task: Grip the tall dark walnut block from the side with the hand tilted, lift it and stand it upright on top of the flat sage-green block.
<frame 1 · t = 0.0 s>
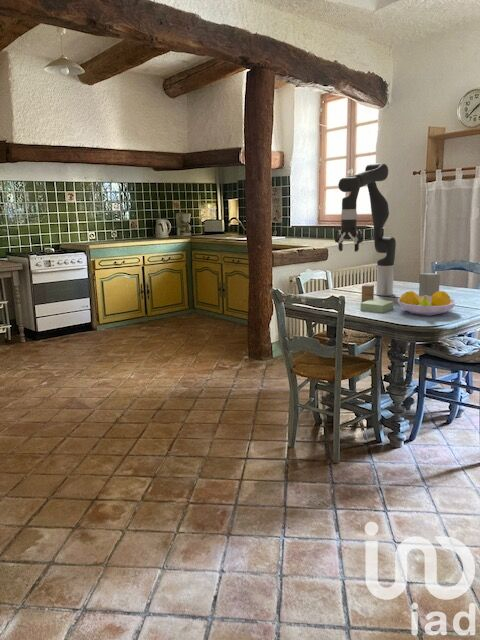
hand: (348, 251, 259), 29 cm above the table, tool pointing down, fingers open, 8 cm apart
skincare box: (428, 303, 271), on the table
fruit bowl: (424, 313, 249), on the table
sage platform block: (376, 309, 260), on the table
walnut block: (367, 303, 274), on the table
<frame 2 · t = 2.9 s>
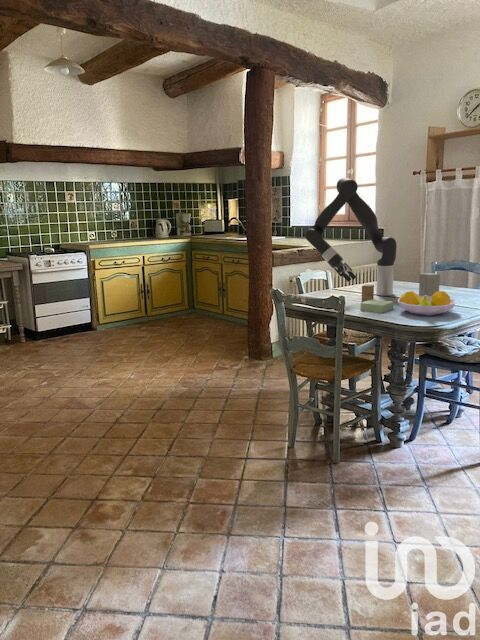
hand: (352, 279, 275), 13 cm above the table, tool tilted 45°, fingers open, 8 cm apart
nothing on the table moved.
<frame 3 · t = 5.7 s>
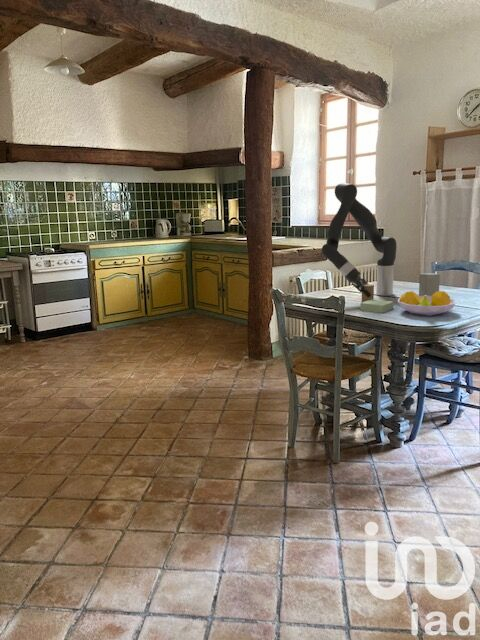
hand: (371, 295, 272), 5 cm above the table, tool tilted 45°, fingers closed on walnut block, 5 cm apart
walnut block: (367, 303, 274), on the table, touching gripper
everything else where it was.
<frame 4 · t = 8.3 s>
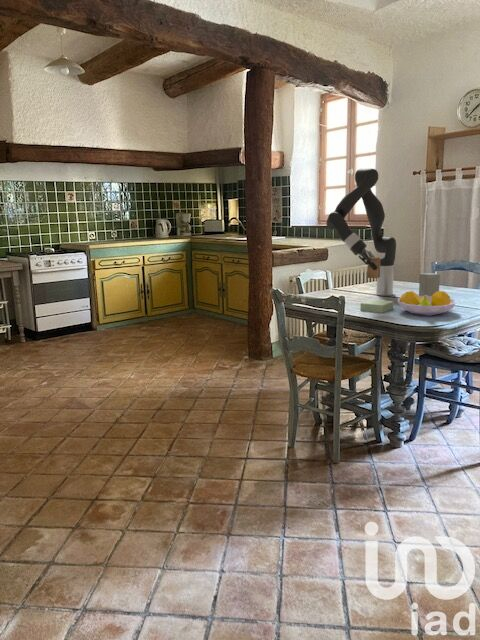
hand: (377, 268, 258), 20 cm above the table, tool tilted 45°, fingers closed on walnut block, 5 cm apart
walnut block: (373, 277, 260), point 16 cm above the table, touching gripper
everything else where it was.
when the fingers open (10 cm above the table, at t = 10.9 s): walnut block drops 2 cm, resting on sage platform block.
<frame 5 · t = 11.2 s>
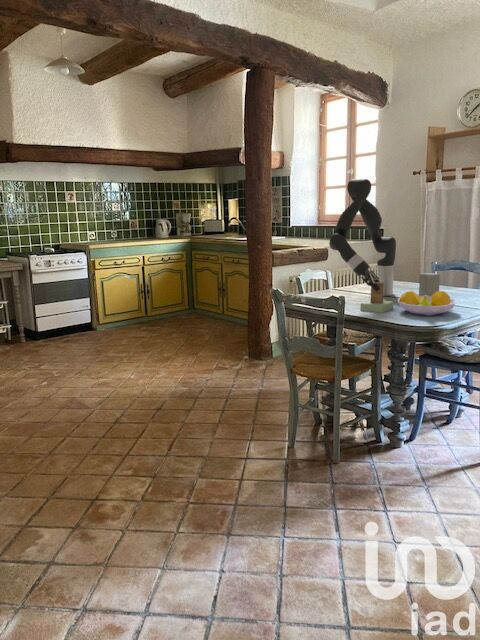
hand: (380, 288, 257), 10 cm above the table, tool tilted 45°, fingers open, 7 cm apart
sage platform block: (376, 310, 260), on the table, touching walnut block
walnut block: (376, 302, 259), point 4 cm above the table, touching sage platform block
everything else where it was.
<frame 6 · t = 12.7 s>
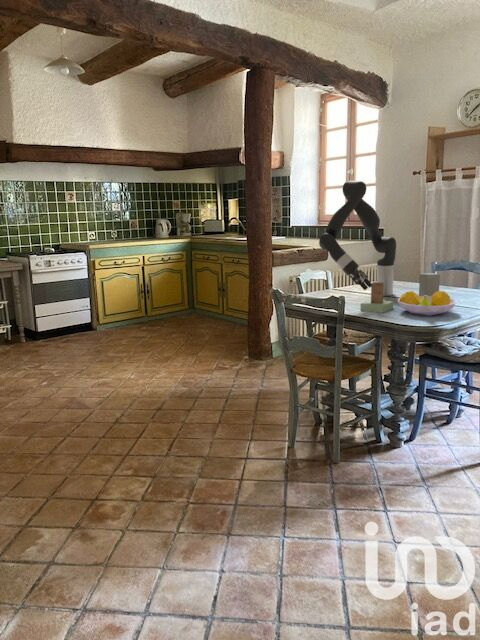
hand: (369, 287, 260), 11 cm above the table, tool tilted 45°, fingers open, 8 cm apart
nothing on the table moved.
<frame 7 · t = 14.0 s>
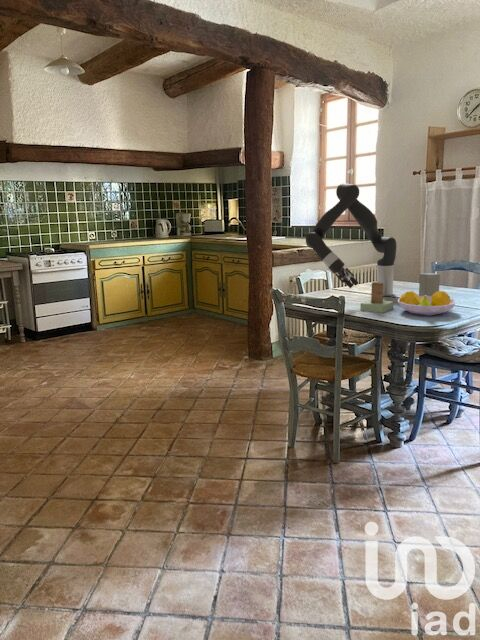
hand: (354, 285, 264), 11 cm above the table, tool tilted 45°, fingers open, 8 cm apart
nothing on the table moved.
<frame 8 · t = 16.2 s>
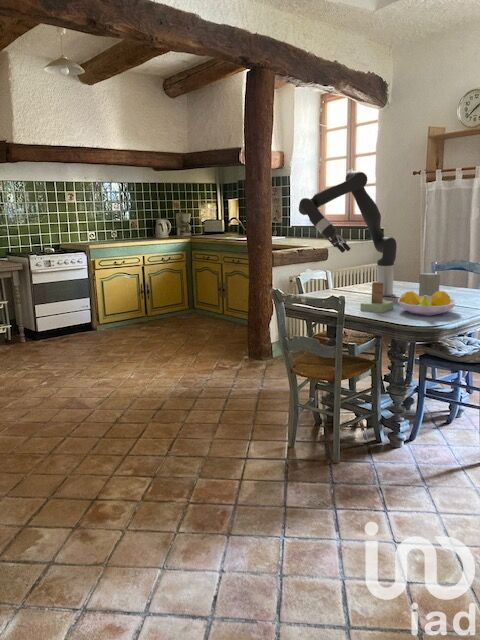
hand: (346, 250, 267), 29 cm above the table, tool tilted 45°, fingers open, 8 cm apart
nothing on the table moved.
at the end: walnut block inside the target area on the sage platform block (0.1 cm from its centre), point 4.0 cm above the sage platform block's base; walnut block tilted 1°; the gripper is holding nothing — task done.
